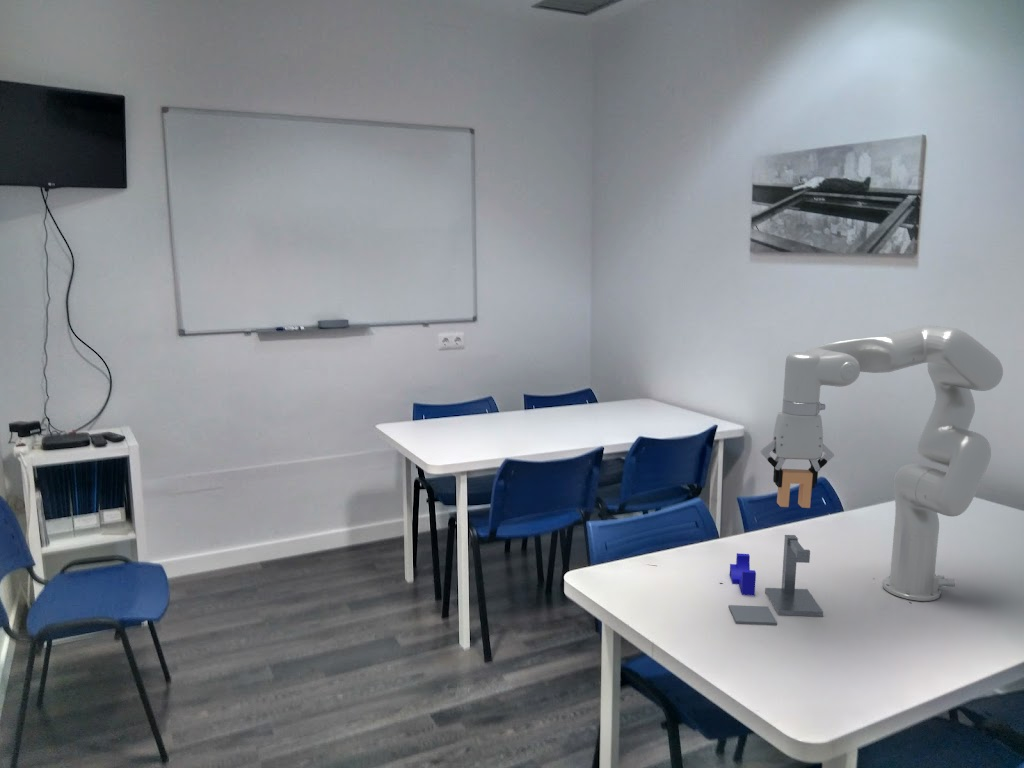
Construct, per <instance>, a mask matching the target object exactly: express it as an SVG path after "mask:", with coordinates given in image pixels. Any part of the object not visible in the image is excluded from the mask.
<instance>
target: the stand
mask: <svg viewBox="0 0 1024 768" xmlns="http://www.w3.org/2000/svg"><path fill="white" fill-rule="evenodd" d="M783 544H784V545H783V556H782V557H783V558H782V573H781V574H782V576H781V588H780V587H765V588H764V593H765V595H766V596H767V598H768V600H769V602H770V604H771V605H772V608H773V609H774V611H775V612H776V614H777V615H778V616H794V617H795V616H796V617H817V618H818V617H821V618H823V617H824V611H823V609H822V608H821V606H820V605H819V604H818V602H817V601H816V600H815V598H814V596H813V595H812V593H810V591H809V589H807V588H796V574H797V563H801V564H802V563H805V564H807V563H808V564H809V563H810V561H811V560H810V559H811V550H810V549H804V547H803V546H802V545H801V543H800V542H799V538H798V537H797V535H795V534H785V535H784V542H783Z"/></svg>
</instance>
